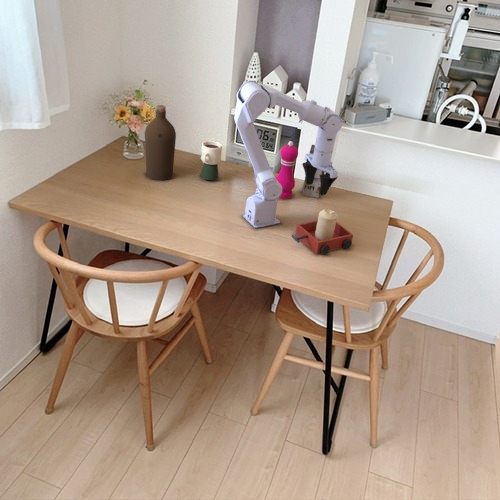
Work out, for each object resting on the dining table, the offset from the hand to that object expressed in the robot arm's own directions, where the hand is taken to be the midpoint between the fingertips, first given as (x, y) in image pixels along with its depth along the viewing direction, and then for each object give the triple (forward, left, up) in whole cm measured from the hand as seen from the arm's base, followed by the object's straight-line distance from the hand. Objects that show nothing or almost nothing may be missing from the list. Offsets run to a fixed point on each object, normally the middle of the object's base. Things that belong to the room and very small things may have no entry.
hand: (316, 189), depth 170 cm
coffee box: (+12, +16, -11) cm, 23 cm away
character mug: (-19, +37, -11) cm, 43 cm away
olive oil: (-35, +45, -11) cm, 58 cm away
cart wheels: (-8, -14, -10) cm, 19 cm away
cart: (-5, -14, -10) cm, 18 cm away
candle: (-5, -13, -10) cm, 17 cm away
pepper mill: (0, +17, -11) cm, 20 cm away
